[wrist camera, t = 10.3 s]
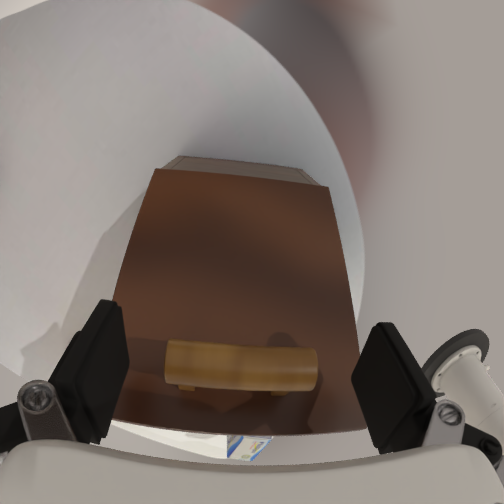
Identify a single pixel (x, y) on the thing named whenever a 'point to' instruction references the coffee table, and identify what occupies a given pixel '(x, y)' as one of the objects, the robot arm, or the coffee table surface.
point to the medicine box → (246, 446)
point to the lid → (237, 309)
